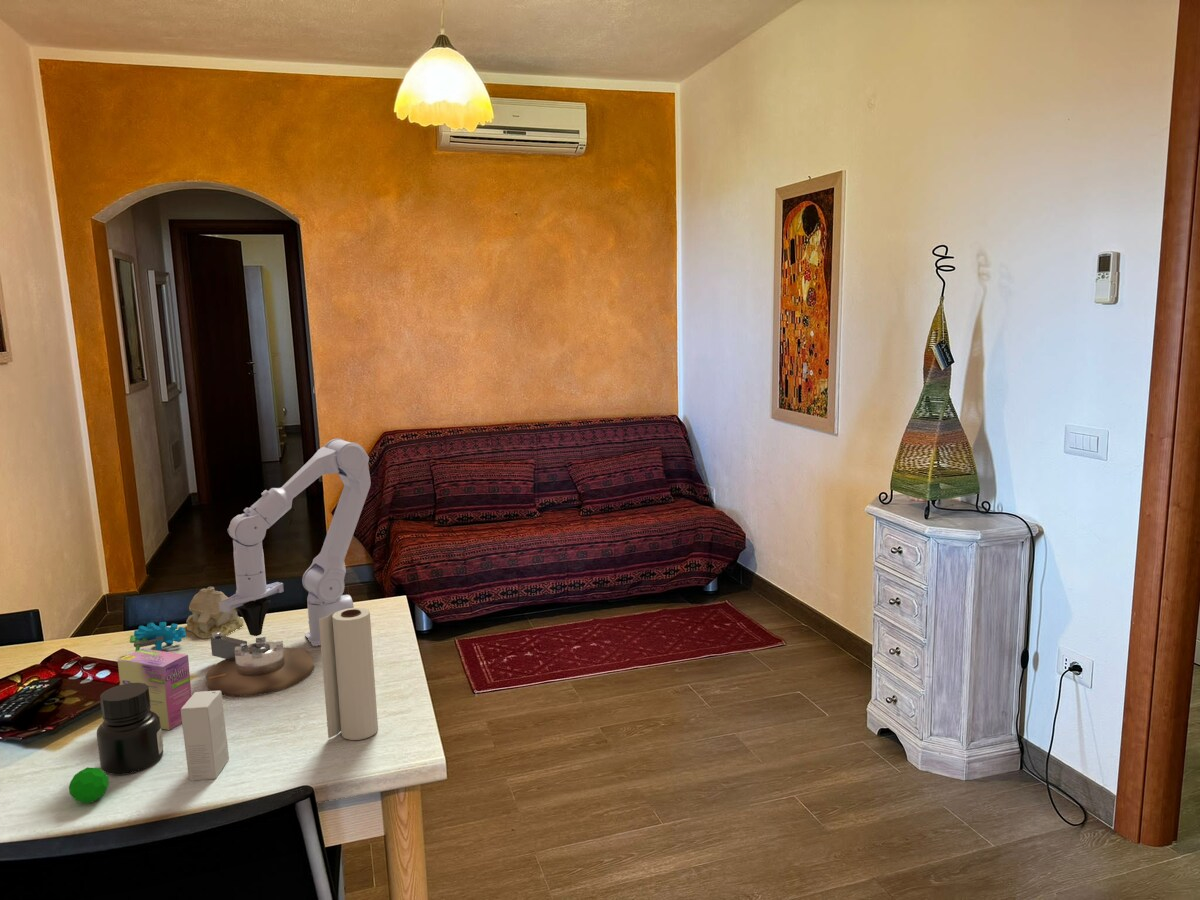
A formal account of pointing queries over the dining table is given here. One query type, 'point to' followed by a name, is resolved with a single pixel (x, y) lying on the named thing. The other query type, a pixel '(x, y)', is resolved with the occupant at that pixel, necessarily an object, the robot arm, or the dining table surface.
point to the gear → (157, 635)
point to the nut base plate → (237, 684)
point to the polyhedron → (88, 785)
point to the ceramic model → (211, 615)
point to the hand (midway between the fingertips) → (255, 634)
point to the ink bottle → (128, 730)
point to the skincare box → (204, 735)
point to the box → (160, 681)
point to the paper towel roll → (349, 673)
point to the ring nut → (249, 654)
